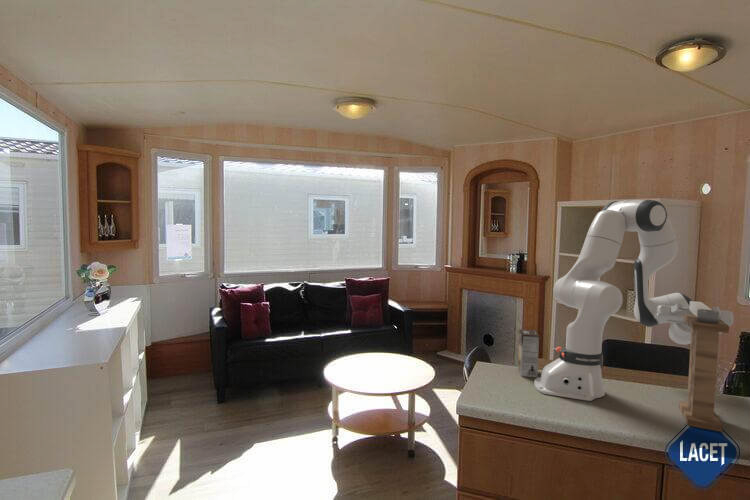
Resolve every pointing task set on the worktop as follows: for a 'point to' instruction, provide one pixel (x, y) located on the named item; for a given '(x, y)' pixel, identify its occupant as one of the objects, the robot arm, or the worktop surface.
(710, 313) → the jaw bar
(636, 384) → the worktop surface
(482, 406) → the worktop surface
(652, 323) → the robot arm
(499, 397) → the worktop surface
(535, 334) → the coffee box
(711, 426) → the stand
